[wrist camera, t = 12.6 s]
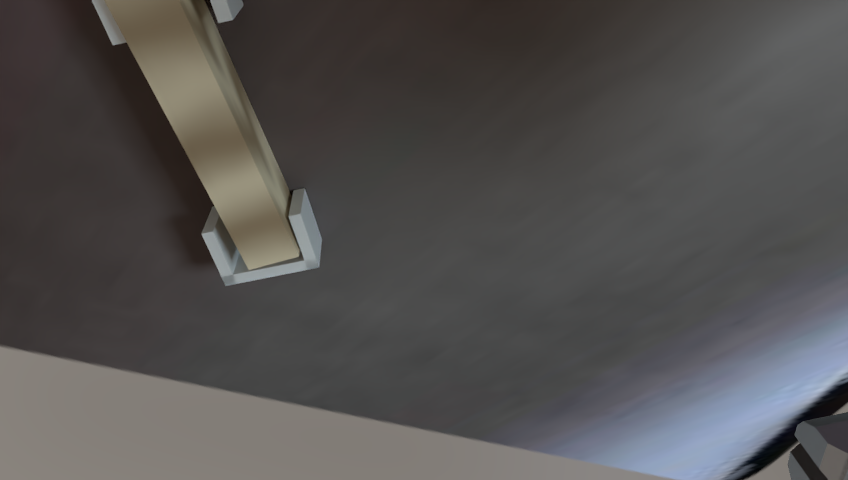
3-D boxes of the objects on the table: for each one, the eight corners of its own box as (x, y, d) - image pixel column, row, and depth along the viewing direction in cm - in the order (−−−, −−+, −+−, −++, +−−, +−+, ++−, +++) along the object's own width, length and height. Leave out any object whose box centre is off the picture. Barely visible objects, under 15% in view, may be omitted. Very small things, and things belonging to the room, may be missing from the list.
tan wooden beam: (129, -24, 34) (100, -7, 30) (187, -42, 33) (165, -27, 30) (258, 233, 43) (248, 270, 40) (304, 221, 43) (298, 256, 39)
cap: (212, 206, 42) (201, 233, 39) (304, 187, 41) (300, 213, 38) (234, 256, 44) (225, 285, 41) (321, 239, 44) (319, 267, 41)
